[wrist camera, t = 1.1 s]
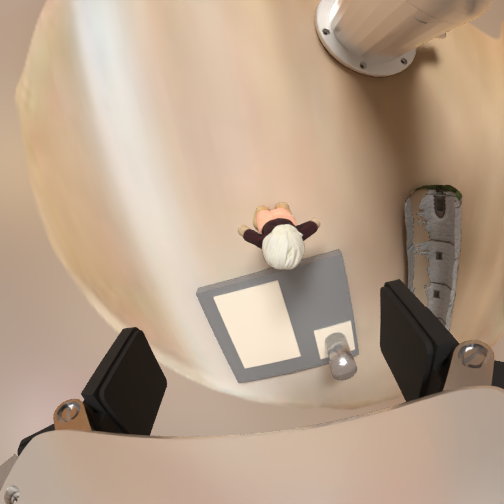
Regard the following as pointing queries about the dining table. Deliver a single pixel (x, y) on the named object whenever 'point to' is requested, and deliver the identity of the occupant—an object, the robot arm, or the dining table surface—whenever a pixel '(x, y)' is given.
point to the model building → (438, 246)
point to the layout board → (281, 317)
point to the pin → (340, 356)
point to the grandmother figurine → (279, 235)
